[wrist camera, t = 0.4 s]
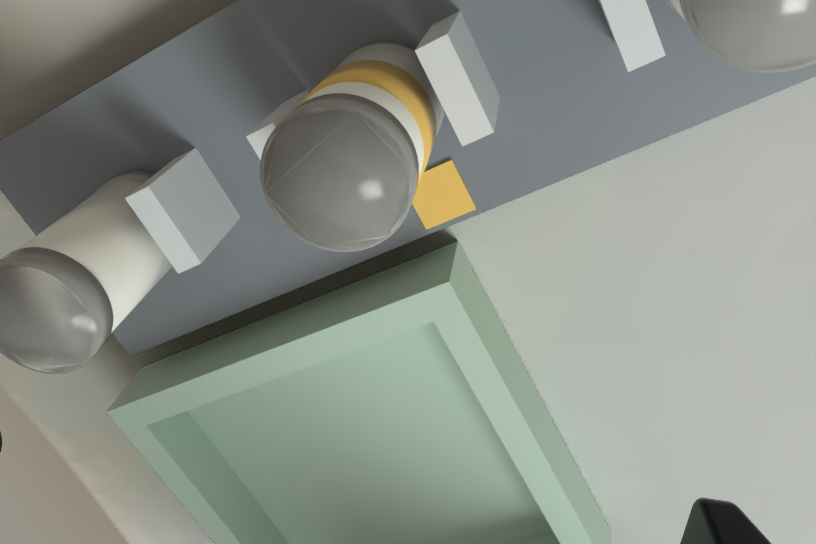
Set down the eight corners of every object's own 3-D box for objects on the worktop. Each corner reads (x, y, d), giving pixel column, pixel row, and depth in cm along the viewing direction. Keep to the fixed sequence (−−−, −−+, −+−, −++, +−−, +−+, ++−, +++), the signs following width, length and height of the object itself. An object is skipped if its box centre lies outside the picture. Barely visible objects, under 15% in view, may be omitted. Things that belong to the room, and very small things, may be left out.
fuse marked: (466, 127, 20) (441, 218, 15) (367, 172, 21) (310, 272, 16) (413, 18, 19) (365, 75, 13) (311, 72, 20) (230, 145, 15)
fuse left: (217, 240, 23) (122, 351, 17) (141, 275, 24) (30, 388, 19) (158, 153, 22) (38, 243, 16) (81, 193, 23) (-55, 290, 17)
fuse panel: (918, 15, 18) (1016, 52, 14) (146, 337, 26) (84, 412, 23) (836, -352, 15) (932, -422, 11) (-1, 143, 24) (-99, 193, 20)
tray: (609, 528, 27) (616, 587, 25) (319, 596, 32) (302, 651, 30) (457, 240, 23) (448, 281, 21) (142, 367, 27) (106, 412, 25)
